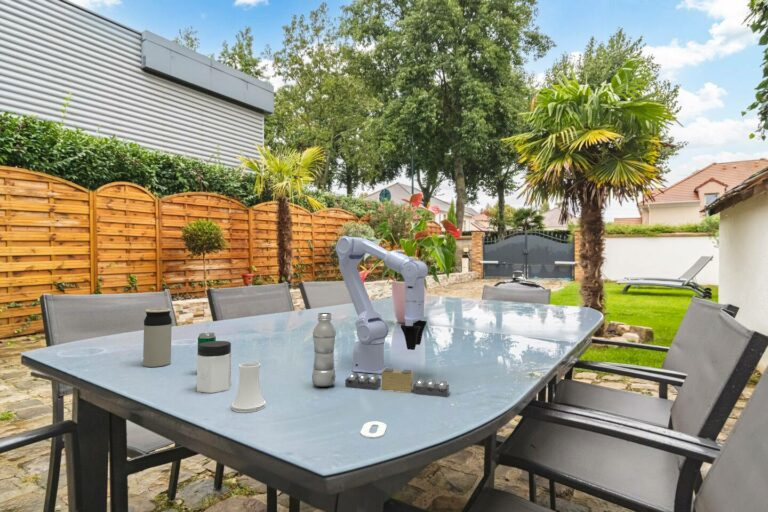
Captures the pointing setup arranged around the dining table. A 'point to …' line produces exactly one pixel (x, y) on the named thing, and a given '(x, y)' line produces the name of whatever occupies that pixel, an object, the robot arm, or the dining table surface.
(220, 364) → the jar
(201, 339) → the soda can
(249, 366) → the vase
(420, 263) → the robot arm
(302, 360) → the dining table surface
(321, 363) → the plastic bottle
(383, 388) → the gold block
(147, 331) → the travel mug
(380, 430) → the chain link
